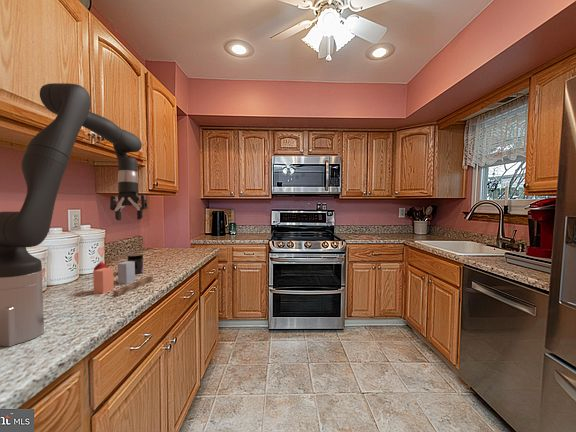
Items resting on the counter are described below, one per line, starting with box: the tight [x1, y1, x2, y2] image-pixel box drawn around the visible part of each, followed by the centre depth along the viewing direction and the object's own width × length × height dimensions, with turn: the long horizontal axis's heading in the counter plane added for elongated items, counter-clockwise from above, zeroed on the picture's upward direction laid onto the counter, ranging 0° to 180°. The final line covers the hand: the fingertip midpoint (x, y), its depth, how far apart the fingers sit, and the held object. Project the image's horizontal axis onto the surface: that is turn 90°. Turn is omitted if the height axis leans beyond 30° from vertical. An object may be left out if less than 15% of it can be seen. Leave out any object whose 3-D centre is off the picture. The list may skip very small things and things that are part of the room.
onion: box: [93, 260, 109, 271], centre depth 124 cm, size 6×6×8 cm
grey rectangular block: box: [117, 260, 136, 285], centre depth 114 cm, size 5×4×8 cm
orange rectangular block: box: [92, 267, 115, 294], centre depth 102 cm, size 5×4×8 cm
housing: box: [112, 276, 154, 297], centre depth 108 cm, size 20×14×3 cm
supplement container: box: [126, 253, 144, 276], centre depth 129 cm, size 7×7×10 cm
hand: (129, 220), depth 113 cm, fingers open, 8 cm apart
